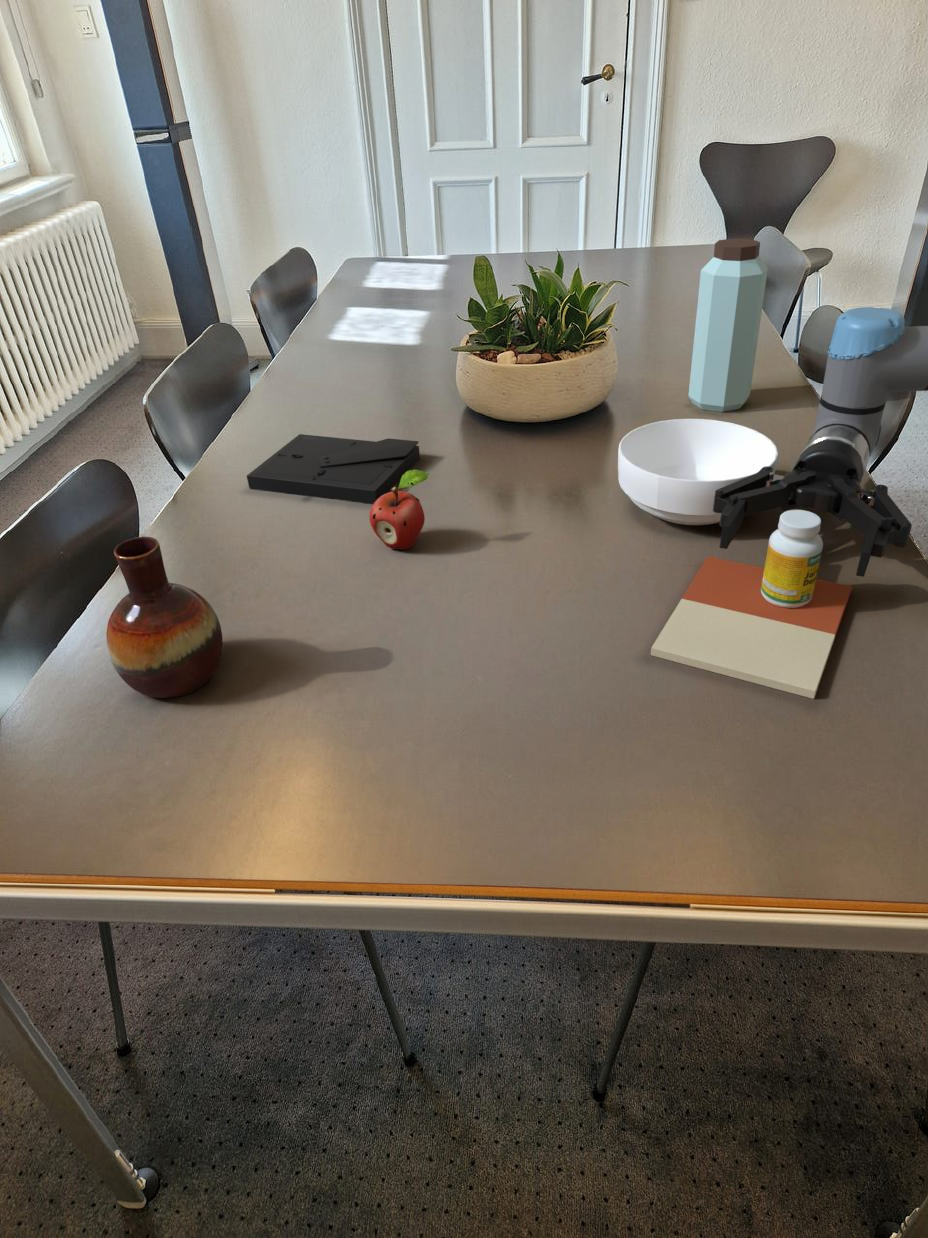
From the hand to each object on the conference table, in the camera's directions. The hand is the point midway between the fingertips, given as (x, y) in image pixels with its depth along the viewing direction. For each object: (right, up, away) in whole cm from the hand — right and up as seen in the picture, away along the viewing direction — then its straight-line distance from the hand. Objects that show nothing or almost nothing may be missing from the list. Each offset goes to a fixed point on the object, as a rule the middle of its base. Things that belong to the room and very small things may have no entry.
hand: (791, 550), depth 87 cm
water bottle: (+9, +29, +56) cm, 64 cm away
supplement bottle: (+2, -5, +6) cm, 8 cm away
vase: (-63, -13, +2) cm, 65 cm away
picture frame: (-53, +15, +41) cm, 68 cm away
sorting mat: (-2, -7, +4) cm, 9 cm away
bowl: (-3, +8, +26) cm, 27 cm away
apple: (-41, +2, +22) cm, 47 cm away
